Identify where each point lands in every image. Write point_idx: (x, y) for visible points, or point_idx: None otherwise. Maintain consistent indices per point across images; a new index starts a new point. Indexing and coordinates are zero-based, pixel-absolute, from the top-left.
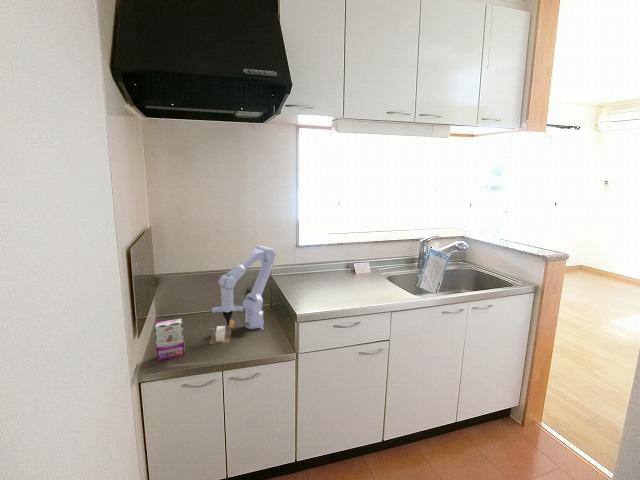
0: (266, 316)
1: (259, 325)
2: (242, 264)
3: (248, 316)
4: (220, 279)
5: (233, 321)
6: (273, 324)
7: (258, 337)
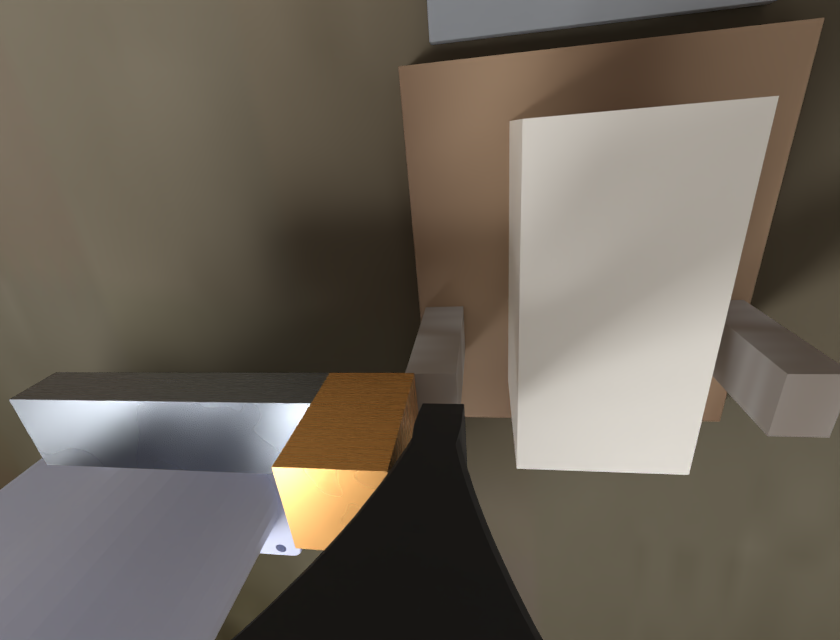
0: None
1: None
2: None
3: (76, 618)
4: None
5: (285, 489)
6: None
7: (50, 236)
